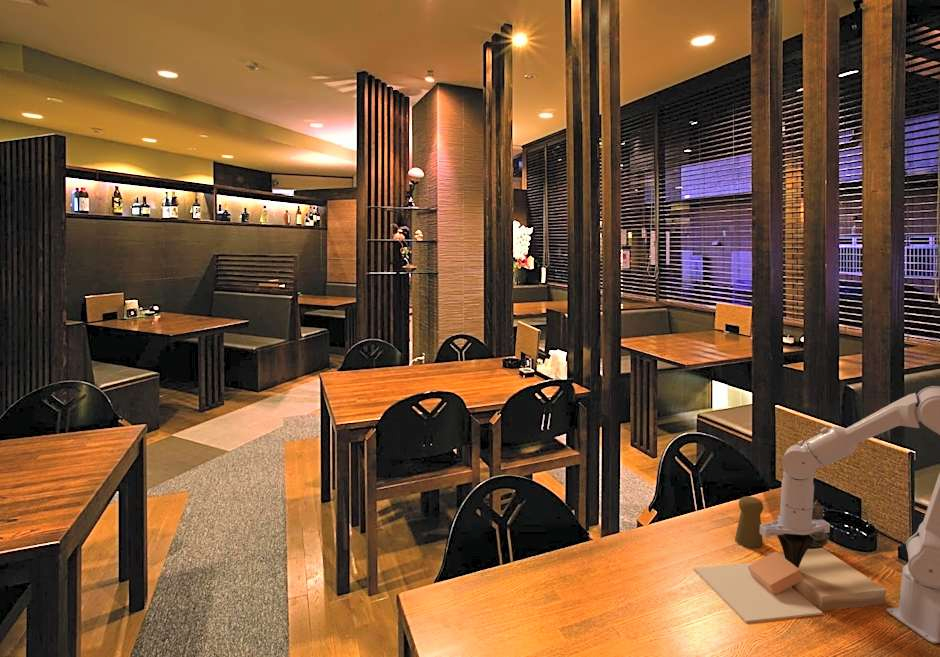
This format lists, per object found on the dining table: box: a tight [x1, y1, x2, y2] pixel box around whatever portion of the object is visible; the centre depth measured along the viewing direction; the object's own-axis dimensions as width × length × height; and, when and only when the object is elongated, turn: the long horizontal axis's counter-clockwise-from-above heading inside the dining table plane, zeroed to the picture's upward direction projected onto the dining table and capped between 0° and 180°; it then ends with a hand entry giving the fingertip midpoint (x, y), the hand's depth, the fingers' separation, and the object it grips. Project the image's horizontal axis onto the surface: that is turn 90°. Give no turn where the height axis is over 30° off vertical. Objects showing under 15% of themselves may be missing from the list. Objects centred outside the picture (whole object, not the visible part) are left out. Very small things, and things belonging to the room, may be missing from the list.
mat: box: [693, 562, 824, 624], centre depth 113 cm, size 18×16×1 cm
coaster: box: [748, 551, 804, 595], centre depth 114 cm, size 7×7×2 cm
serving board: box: [765, 547, 887, 612], centre depth 115 cm, size 16×14×3 cm
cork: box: [734, 496, 764, 550], centre depth 132 cm, size 6×6×11 cm
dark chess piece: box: [808, 499, 830, 550], centre depth 129 cm, size 6×6×12 cm
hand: (792, 566), depth 115 cm, fingers closed
